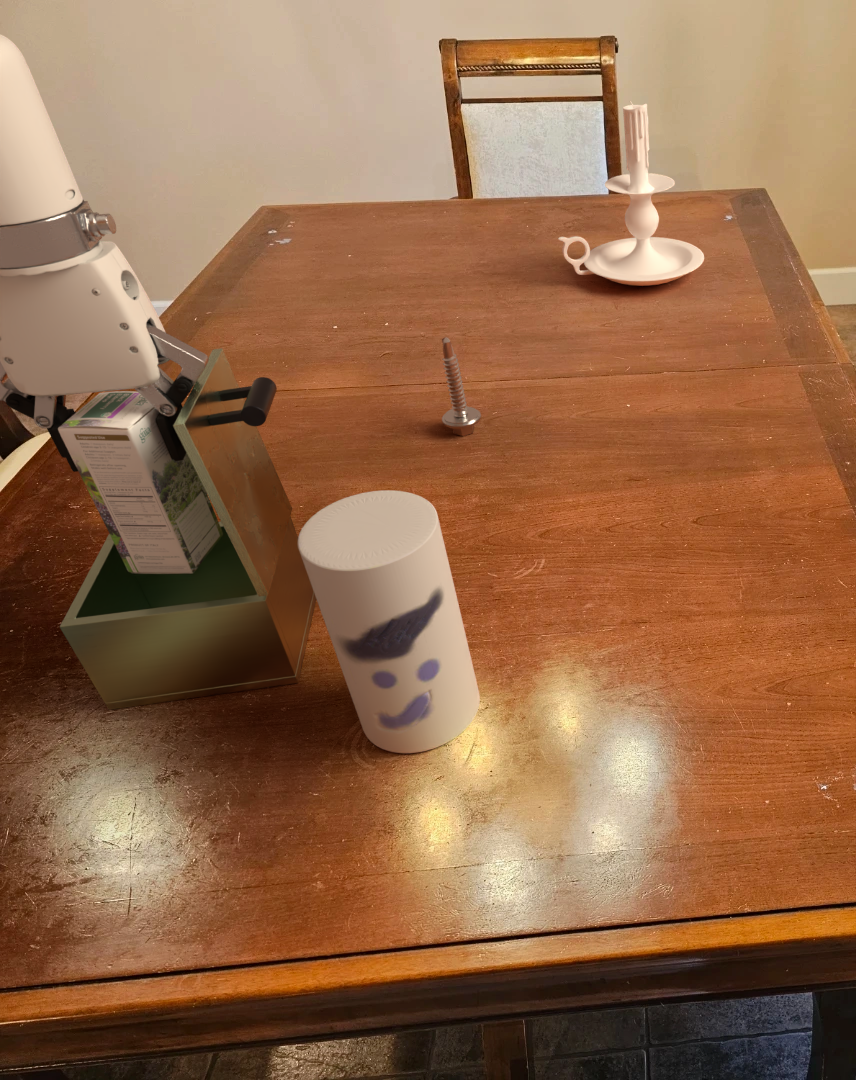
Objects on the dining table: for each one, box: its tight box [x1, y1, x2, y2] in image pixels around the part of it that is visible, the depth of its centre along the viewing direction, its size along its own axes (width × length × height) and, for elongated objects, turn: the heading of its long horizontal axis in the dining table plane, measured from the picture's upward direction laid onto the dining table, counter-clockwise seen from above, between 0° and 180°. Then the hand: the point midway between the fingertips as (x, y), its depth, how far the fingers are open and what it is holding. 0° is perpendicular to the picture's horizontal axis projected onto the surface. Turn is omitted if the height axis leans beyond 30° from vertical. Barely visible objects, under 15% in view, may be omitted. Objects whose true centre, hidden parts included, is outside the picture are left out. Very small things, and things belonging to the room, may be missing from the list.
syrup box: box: [58, 390, 223, 574], centre depth 76 cm, size 6×6×14 cm
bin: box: [59, 515, 317, 711], centre depth 84 cm, size 16×13×10 cm
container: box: [297, 489, 481, 754], centre depth 75 cm, size 10×10×20 cm
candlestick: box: [557, 100, 705, 287], centre depth 151 cm, size 21×25×28 cm
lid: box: [173, 347, 293, 597], centre depth 77 cm, size 17×13×5 cm
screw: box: [441, 336, 482, 437], centre depth 115 cm, size 13×5×5 cm
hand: (133, 455), depth 74 cm, fingers closed on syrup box, 6 cm apart
